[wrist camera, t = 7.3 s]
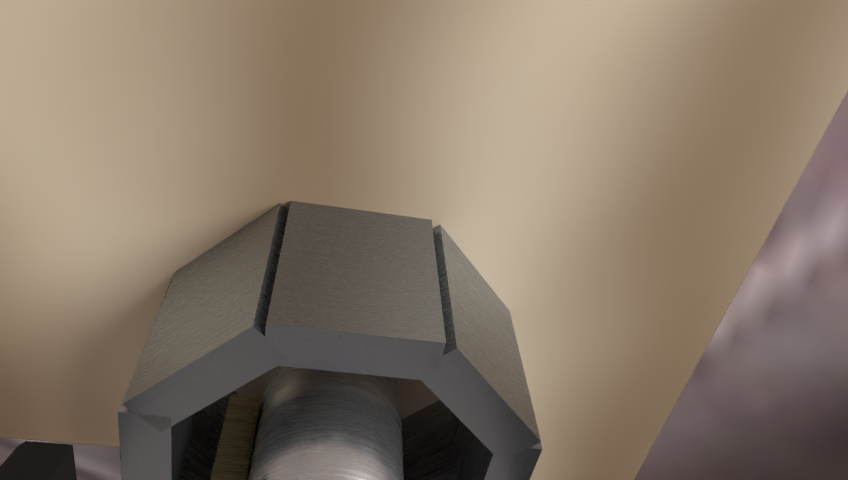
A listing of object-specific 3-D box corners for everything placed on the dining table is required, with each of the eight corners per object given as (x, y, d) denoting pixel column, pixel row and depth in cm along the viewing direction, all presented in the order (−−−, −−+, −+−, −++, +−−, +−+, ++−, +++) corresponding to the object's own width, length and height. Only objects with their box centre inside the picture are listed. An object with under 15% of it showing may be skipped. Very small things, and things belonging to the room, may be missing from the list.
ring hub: (539, 234, 12) (581, 358, 9) (461, 464, 15) (477, 602, 13) (171, 184, 11) (109, 306, 8) (172, 440, 14) (128, 584, 12)
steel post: (409, 317, 13) (421, 538, 9) (388, 408, 14) (392, 634, 10) (246, 298, 12) (190, 522, 9) (239, 395, 14) (189, 624, 10)
